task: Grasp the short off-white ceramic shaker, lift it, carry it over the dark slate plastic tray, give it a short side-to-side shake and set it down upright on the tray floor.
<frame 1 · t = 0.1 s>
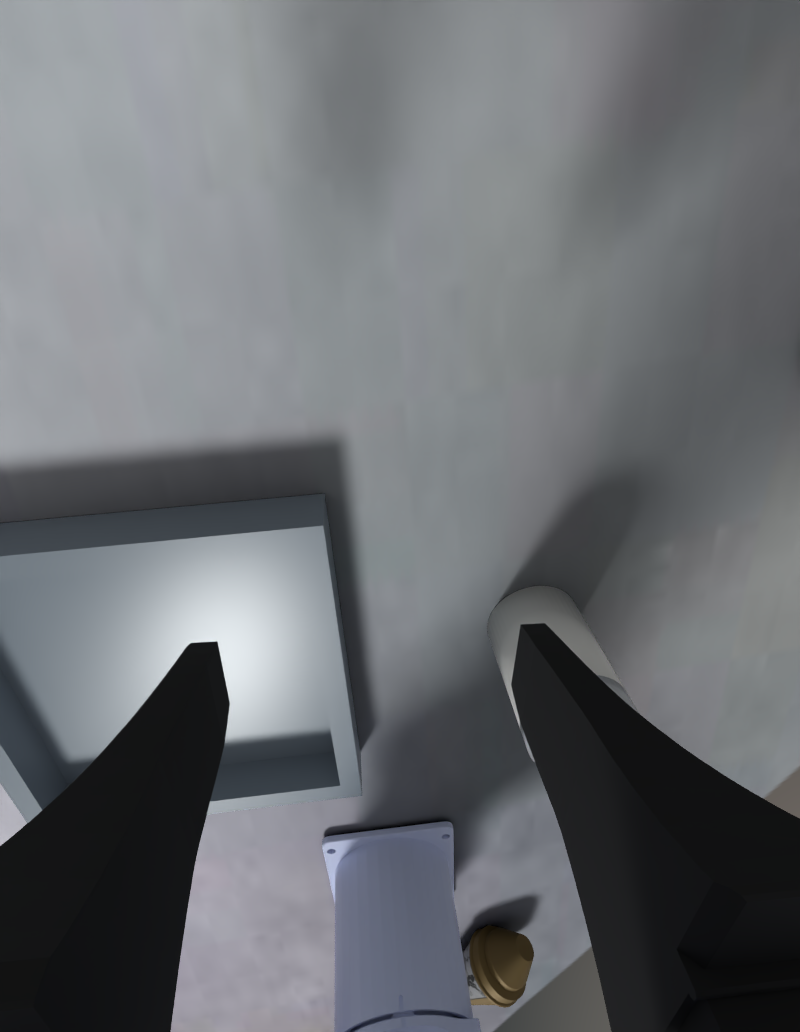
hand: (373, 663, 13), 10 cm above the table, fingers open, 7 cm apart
shaker: (532, 622, 27), on the table
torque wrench: (382, 1002, 48), on the table
tray: (172, 661, 26), on the table
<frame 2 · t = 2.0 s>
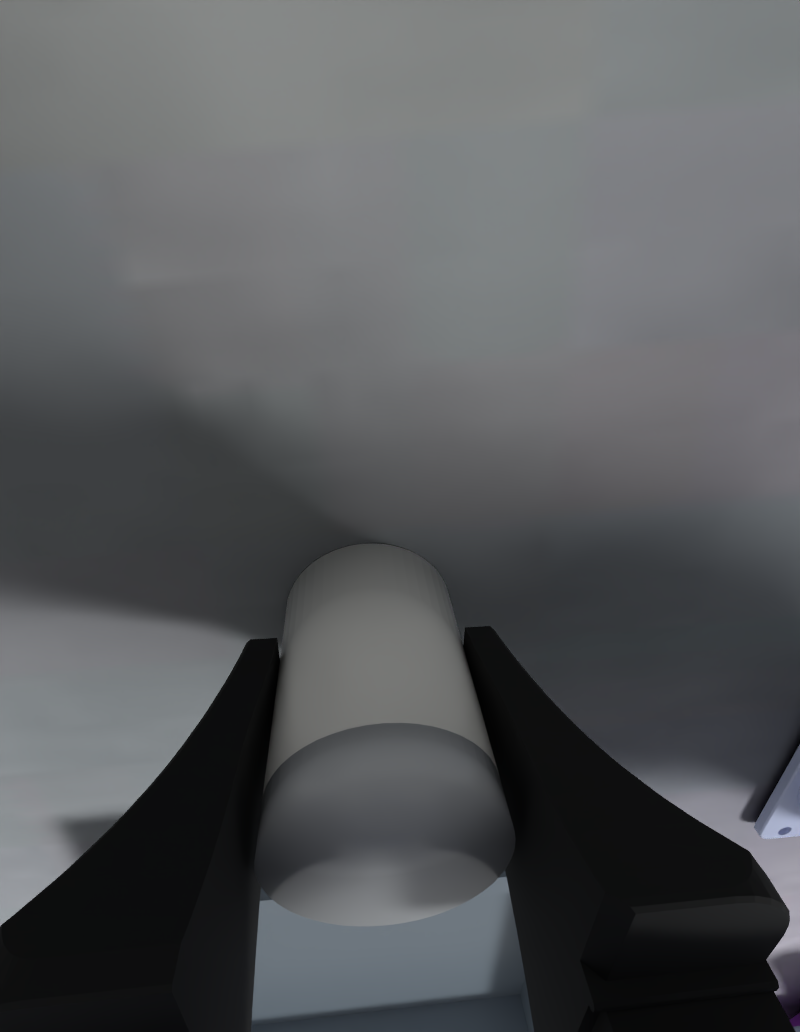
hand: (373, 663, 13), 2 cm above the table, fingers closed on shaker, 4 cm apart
shaker: (369, 611, 15), on the table, touching gripper
tray: (375, 926, 23), on the table
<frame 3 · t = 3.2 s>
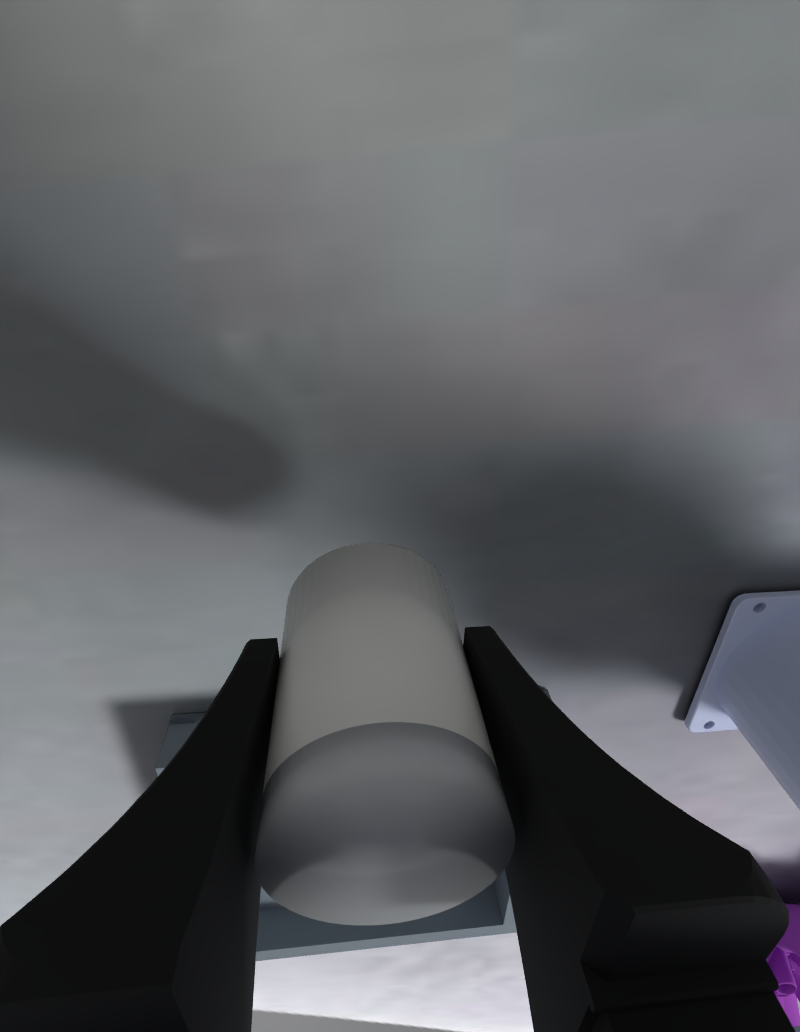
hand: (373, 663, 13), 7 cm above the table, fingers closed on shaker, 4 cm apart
shaker: (369, 611, 15), point 5 cm above the table, touching gripper
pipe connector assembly: (766, 905, 38), on the table
tray: (368, 813, 28), on the table
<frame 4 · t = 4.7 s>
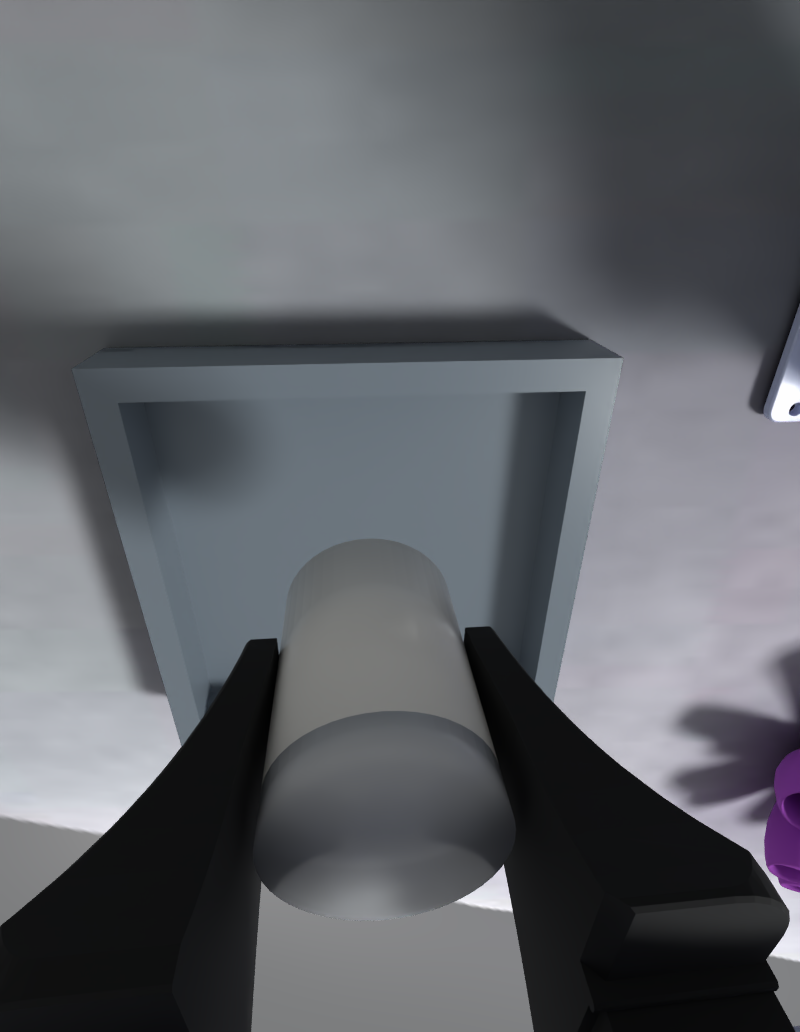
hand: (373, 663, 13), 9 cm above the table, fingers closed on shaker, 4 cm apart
shaker: (368, 608, 15), point 7 cm above the table, touching gripper
tray: (363, 547, 22), on the table
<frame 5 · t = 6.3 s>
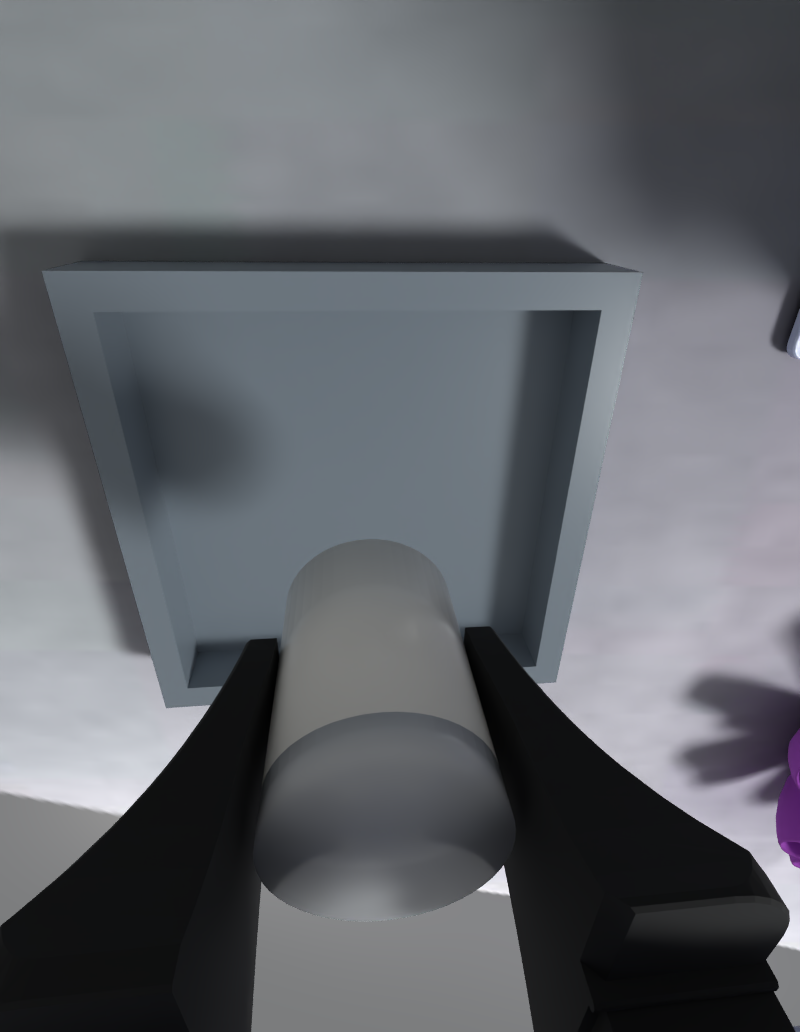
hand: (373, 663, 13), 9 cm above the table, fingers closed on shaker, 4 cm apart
shaker: (368, 608, 15), point 7 cm above the table, touching gripper
tray: (360, 494, 21), on the table
when the fingers open (3 cm above the table, at t = 7.7 s): shaker stays where it is, resting on tray.
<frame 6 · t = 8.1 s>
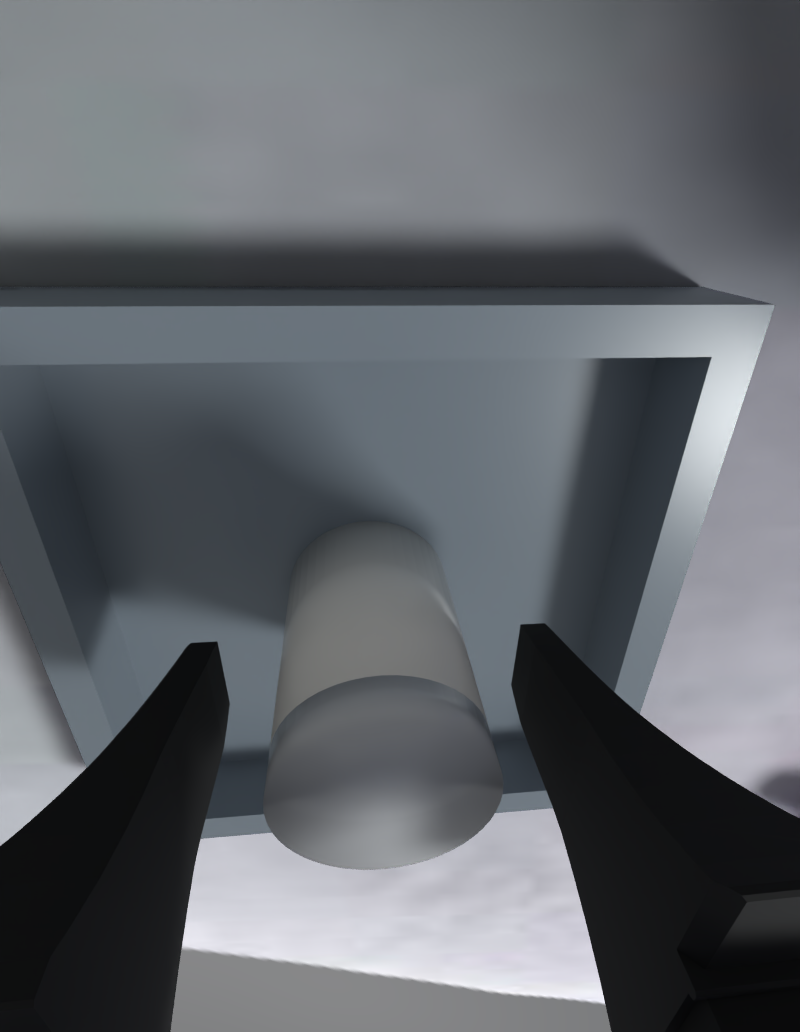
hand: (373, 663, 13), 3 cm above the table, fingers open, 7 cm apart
shaker: (368, 587, 16), point 1 cm above the table, touching tray
tray: (366, 579, 16), on the table
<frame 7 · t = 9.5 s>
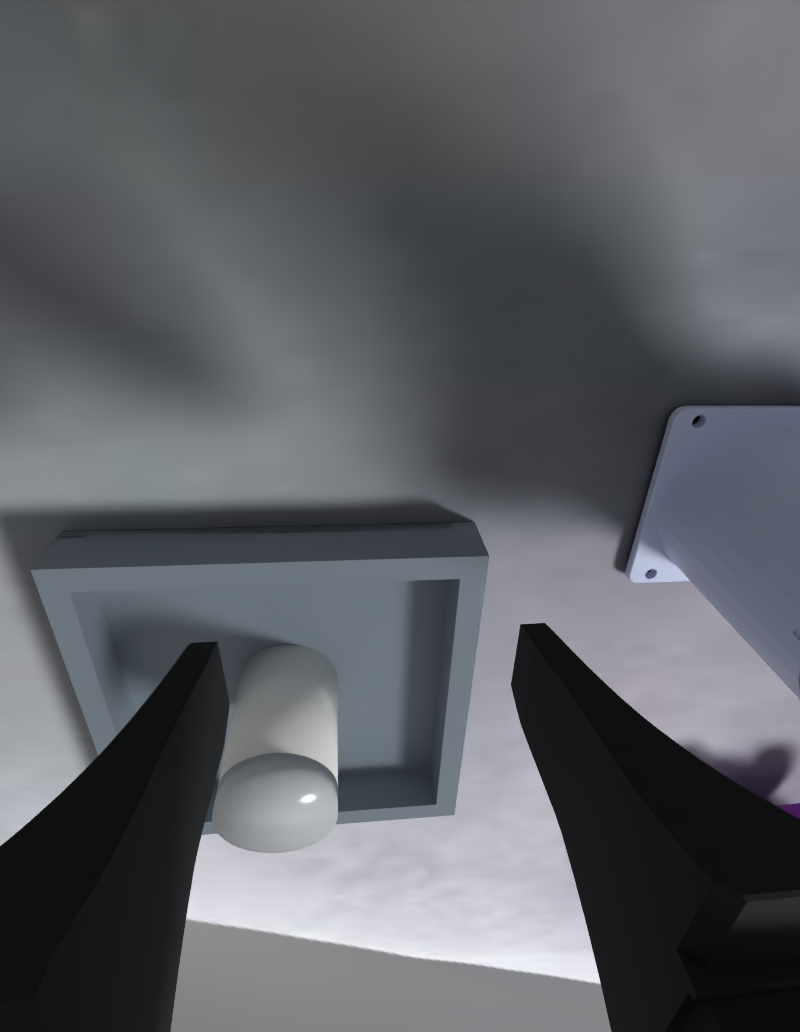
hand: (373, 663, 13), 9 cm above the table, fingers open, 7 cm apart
shaker: (289, 680, 25), resting on tray
tray: (289, 673, 26), on the table
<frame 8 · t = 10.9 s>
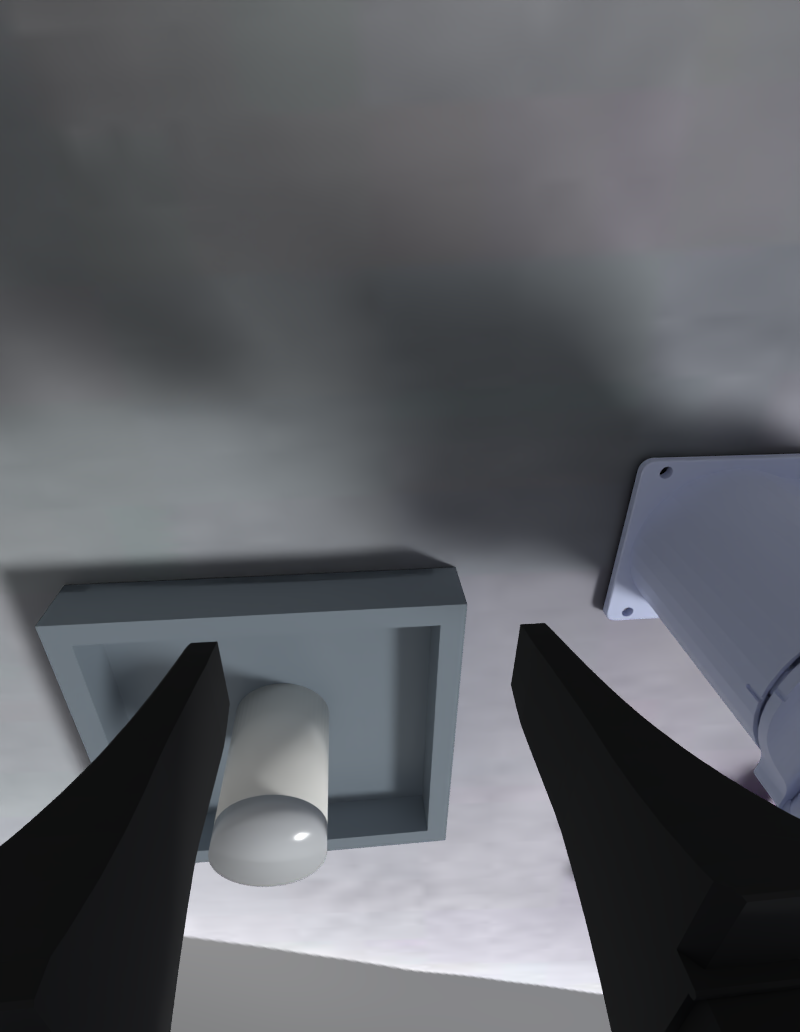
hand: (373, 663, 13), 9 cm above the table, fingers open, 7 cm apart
shaker: (283, 716, 27), resting on tray
tray: (283, 709, 27), on the table
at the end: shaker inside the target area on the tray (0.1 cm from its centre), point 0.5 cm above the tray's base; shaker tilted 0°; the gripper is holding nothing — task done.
